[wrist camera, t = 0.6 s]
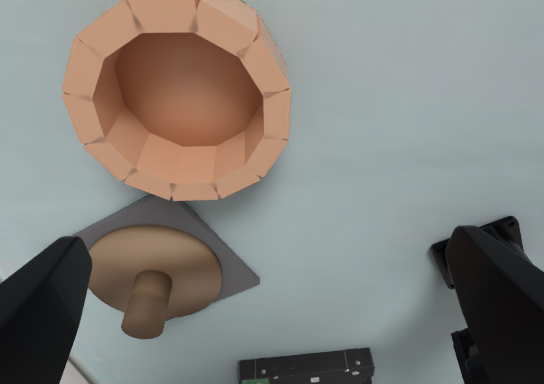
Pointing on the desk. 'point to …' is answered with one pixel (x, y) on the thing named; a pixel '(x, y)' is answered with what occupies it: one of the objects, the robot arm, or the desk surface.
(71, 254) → the robot arm
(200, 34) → the bowl
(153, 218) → the trivet
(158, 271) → the lid
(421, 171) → the desk surface
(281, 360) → the disk drive
